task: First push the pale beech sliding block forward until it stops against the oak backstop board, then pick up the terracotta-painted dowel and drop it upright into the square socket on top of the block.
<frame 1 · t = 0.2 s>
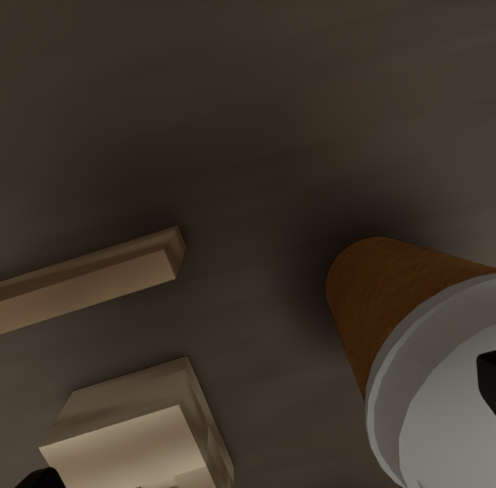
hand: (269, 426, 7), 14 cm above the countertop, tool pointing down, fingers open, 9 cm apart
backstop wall: (79, 269, 21), on the countertop
disposable coffee cup: (371, 282, 22), on the countertop
block: (151, 458, 22), point 2 cm above the countertop, slide at 0.0 cm
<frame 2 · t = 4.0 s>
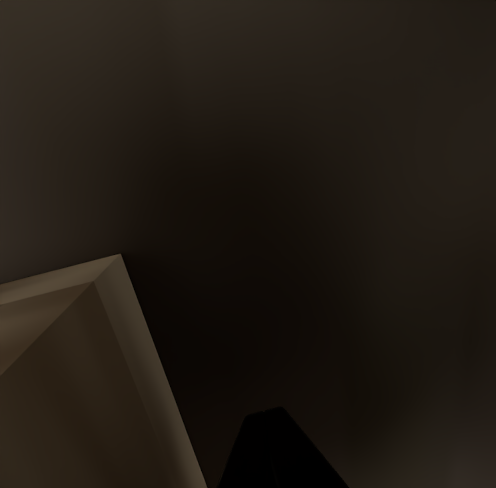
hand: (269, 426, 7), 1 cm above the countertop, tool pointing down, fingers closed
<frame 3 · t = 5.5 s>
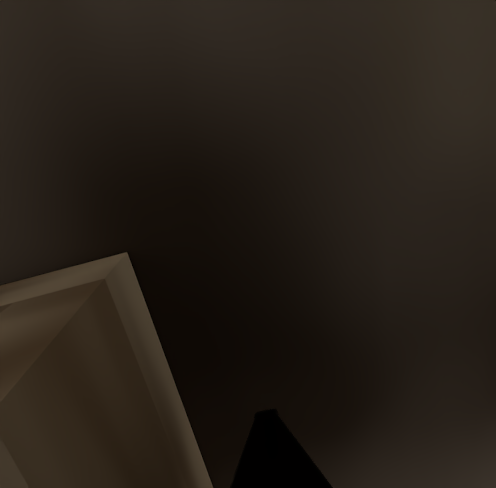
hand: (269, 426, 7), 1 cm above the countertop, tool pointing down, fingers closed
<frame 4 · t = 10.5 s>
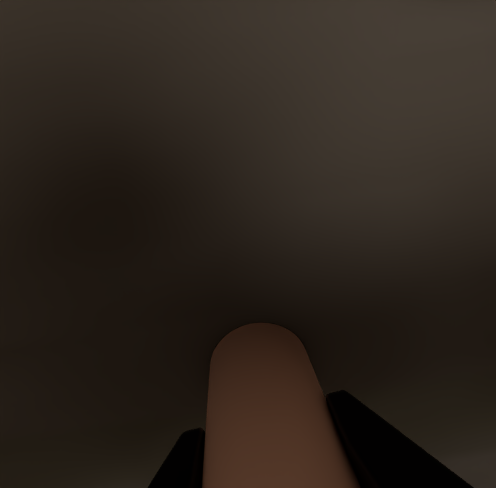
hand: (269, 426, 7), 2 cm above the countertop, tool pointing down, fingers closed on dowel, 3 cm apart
dowel: (259, 367, 9), on the countertop, touching gripper
when the fingers open (6 cm above the countertop, at t = 14.2 s): dowel drops 2 cm, resting on block.
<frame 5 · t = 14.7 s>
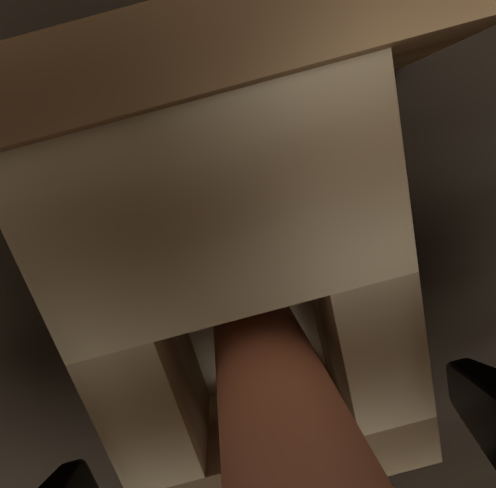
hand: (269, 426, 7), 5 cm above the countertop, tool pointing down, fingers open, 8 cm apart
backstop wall: (190, 96, 10), on the countertop
dowel: (254, 328, 11), point 2 cm above the countertop, touching block
block: (242, 296, 10), point 2 cm above the countertop, slide at 7.0 cm, touching dowel
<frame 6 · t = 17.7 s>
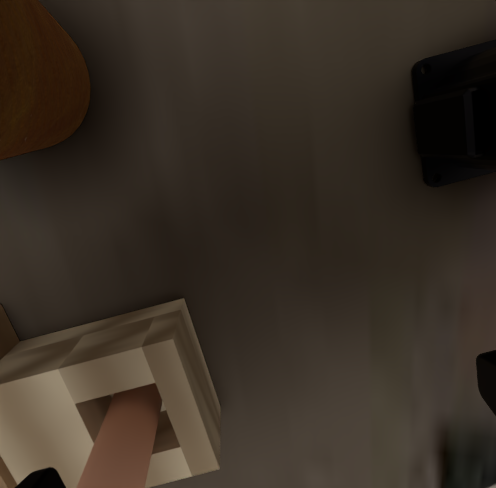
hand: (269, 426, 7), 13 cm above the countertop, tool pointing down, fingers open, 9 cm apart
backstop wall: (35, 399, 21), on the countertop
dowel: (142, 385, 20), point 2 cm above the countertop, touching block
disposable coffee cup: (26, 81, 17), on the countertop
block: (114, 401, 19), point 2 cm above the countertop, slide at 7.0 cm, touching dowel
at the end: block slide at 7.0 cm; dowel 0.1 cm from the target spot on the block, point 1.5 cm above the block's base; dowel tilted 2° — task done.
